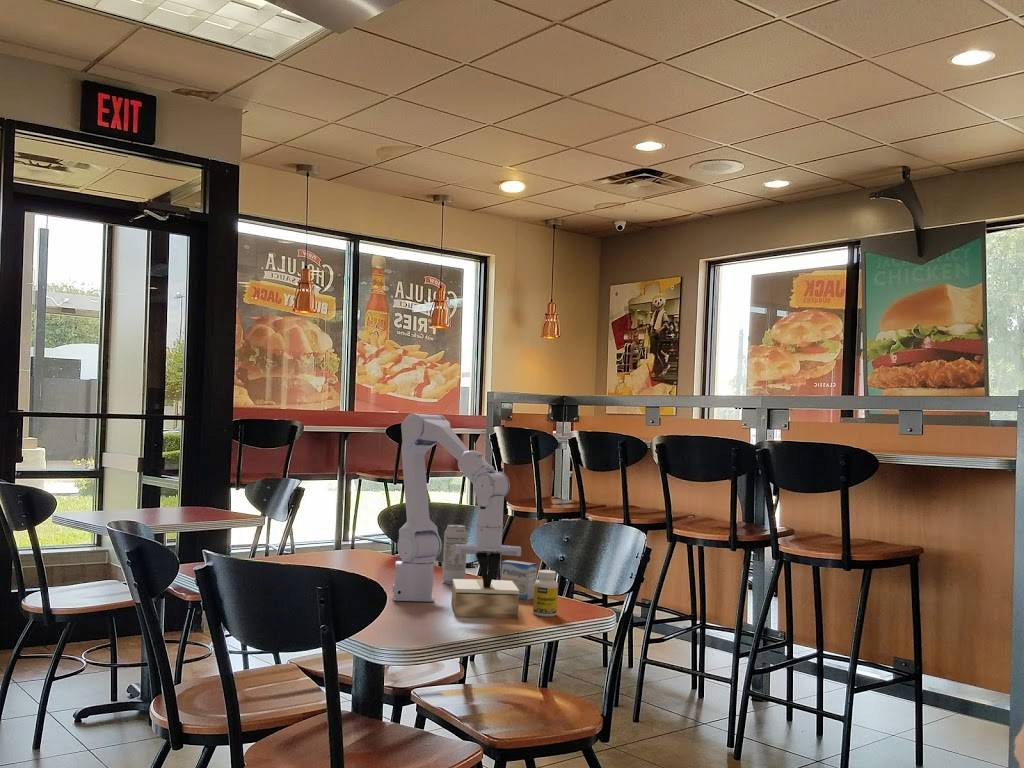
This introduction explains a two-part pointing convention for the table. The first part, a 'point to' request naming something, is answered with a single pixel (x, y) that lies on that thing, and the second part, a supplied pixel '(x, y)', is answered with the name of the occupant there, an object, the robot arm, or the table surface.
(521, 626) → the table surface
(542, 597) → the supplement bottle
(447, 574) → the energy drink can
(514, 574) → the medicine box
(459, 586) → the lid
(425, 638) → the table surface
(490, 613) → the crate
